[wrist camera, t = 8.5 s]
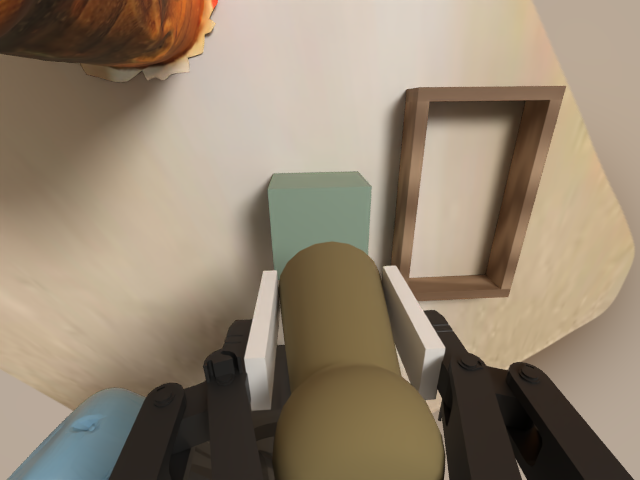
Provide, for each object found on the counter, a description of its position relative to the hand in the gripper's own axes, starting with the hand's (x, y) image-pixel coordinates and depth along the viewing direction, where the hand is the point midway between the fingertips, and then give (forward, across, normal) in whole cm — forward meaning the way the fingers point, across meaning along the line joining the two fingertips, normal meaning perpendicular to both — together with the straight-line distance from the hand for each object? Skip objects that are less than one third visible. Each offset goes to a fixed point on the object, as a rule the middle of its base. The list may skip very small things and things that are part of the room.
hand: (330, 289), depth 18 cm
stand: (+14, 0, 0) cm, 14 cm away
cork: (0, 0, 0) cm, 0 cm away
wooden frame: (+14, -14, -1) cm, 20 cm away
